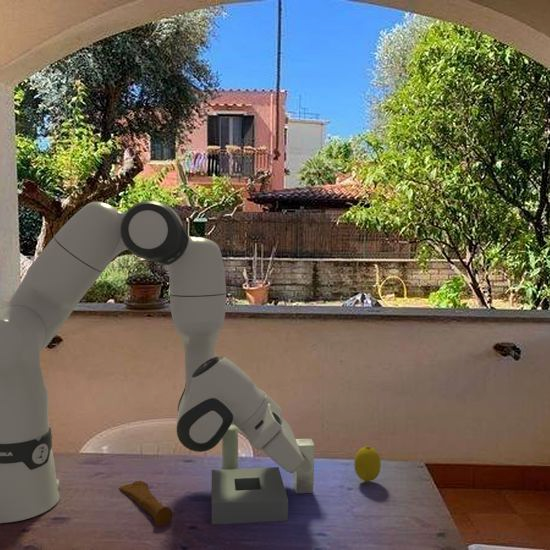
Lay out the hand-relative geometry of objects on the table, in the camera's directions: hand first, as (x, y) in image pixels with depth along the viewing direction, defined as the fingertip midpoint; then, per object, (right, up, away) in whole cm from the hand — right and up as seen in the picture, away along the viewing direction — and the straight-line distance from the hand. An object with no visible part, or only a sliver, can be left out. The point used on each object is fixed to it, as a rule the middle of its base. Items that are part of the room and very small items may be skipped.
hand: (307, 463), depth 111 cm
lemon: (+13, -6, +4) cm, 15 cm away
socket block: (-12, -6, -5) cm, 14 cm away
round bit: (-17, -5, +9) cm, 19 cm away
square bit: (-1, -5, 0) cm, 5 cm away
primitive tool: (-32, -7, -5) cm, 33 cm away
